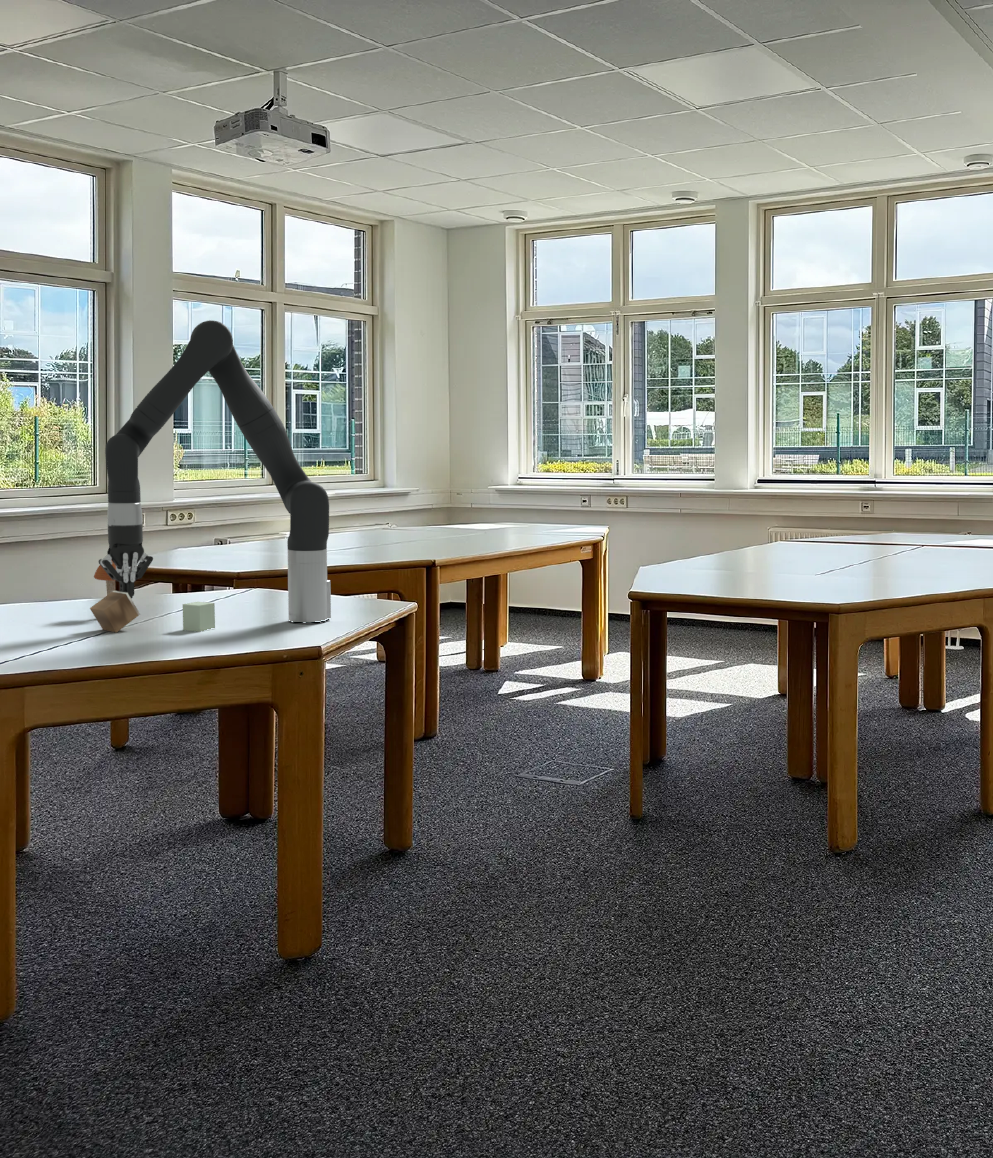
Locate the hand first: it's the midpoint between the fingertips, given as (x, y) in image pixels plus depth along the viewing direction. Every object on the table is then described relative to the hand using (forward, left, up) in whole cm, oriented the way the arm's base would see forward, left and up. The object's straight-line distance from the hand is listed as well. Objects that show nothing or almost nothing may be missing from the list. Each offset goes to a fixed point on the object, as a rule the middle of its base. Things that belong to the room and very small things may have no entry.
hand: (127, 598), depth 269 cm
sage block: (-10, +13, -7) cm, 18 cm away
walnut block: (0, 0, -1) cm, 1 cm away
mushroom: (-6, -18, -7) cm, 21 cm away
